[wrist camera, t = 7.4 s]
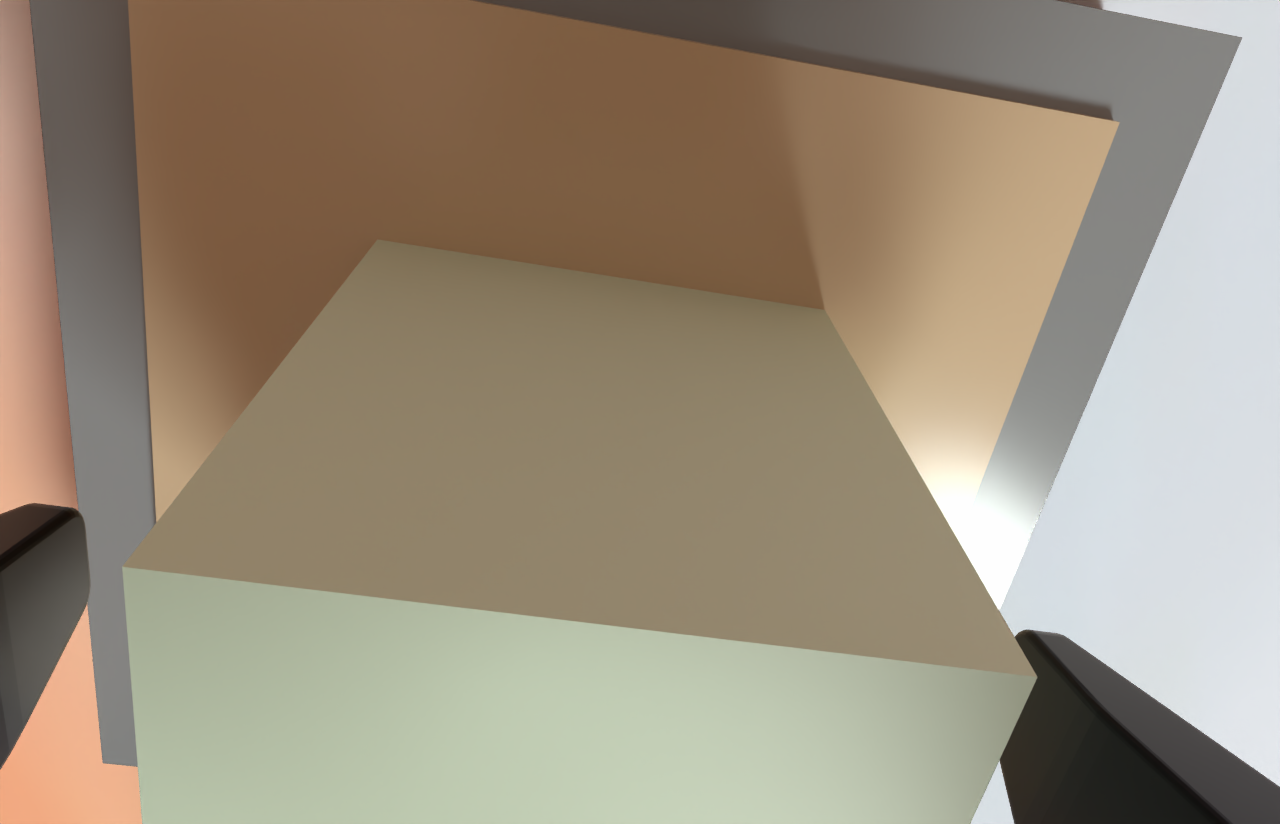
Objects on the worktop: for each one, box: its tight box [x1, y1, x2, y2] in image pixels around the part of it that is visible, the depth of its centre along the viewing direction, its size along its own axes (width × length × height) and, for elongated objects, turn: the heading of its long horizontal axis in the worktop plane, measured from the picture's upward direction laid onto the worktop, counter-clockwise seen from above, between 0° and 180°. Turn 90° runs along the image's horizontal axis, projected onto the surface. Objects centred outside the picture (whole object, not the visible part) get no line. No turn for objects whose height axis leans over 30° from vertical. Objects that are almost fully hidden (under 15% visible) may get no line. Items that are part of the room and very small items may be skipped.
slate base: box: [29, 0, 1242, 767], centre depth 13 cm, size 12×12×3 cm
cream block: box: [122, 239, 1037, 824], centre depth 9 cm, size 5×5×6 cm
